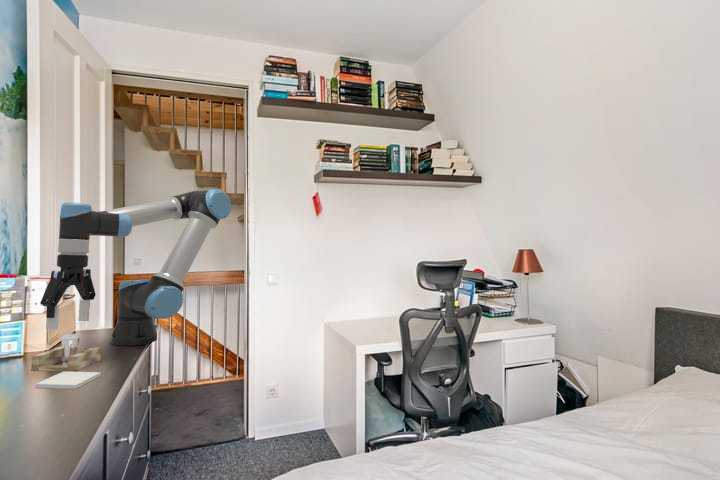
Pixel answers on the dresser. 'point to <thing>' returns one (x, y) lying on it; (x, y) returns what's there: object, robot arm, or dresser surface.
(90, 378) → the pad
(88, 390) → the dresser surface
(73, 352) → the milkshake
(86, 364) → the pocket holder
